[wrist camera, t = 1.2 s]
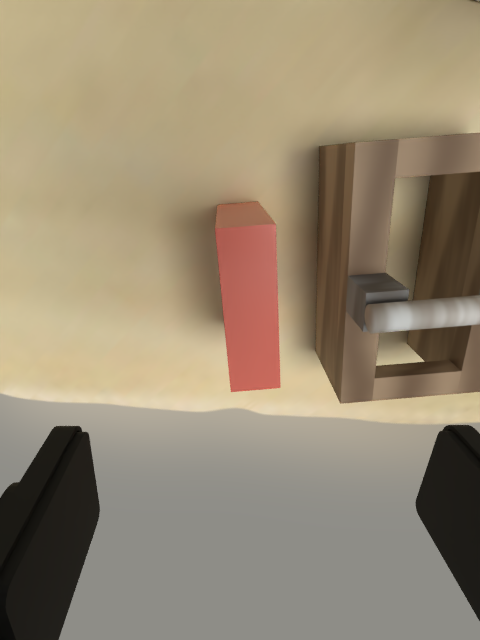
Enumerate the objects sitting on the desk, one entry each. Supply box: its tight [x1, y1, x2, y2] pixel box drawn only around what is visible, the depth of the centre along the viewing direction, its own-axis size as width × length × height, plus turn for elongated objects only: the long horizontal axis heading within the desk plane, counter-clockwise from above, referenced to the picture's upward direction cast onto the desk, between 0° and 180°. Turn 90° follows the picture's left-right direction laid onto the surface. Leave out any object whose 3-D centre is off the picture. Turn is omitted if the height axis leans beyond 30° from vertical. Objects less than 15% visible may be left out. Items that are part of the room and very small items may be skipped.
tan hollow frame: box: [315, 133, 480, 404], centre depth 31 cm, size 14×22×16 cm, turn 4°
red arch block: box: [215, 202, 280, 392], centre depth 32 cm, size 4×13×13 cm, turn 4°
